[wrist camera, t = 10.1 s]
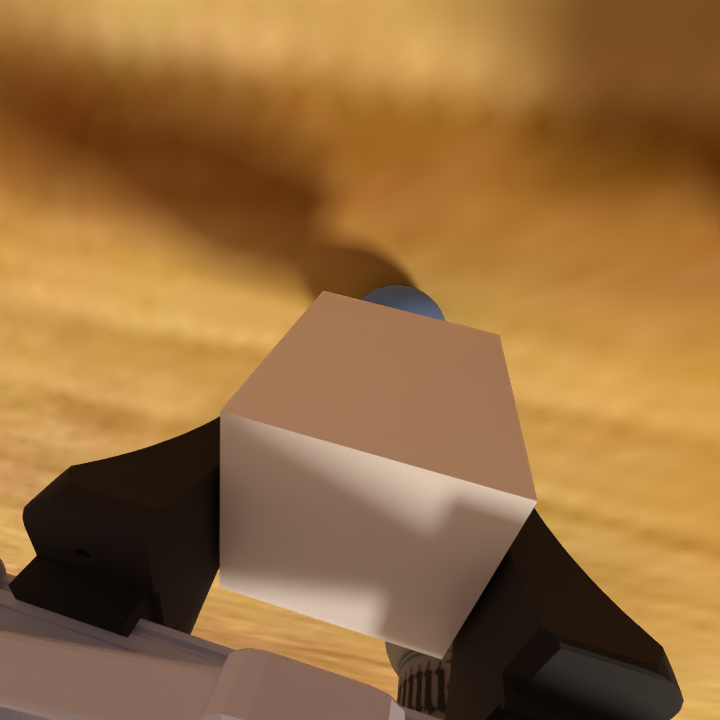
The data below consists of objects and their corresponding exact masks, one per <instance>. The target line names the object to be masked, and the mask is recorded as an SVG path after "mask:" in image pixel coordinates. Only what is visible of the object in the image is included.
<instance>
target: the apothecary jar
mask: <svg viewBox="0 0 720 720" xmlns="http://www.w3.org/2000/svg"><path fill="white" fill-rule="evenodd" d="M385 644H386V651H387V654H388V657H389V660H390V662H391V665H392V667H393V669H394V671H395V672H396V674H397V675H398V677H399V683H398V697H397V702H398V703H399V704H400V705H401V706H403V707H406V708H409V709H412V710H415V711H418V712H421V713H424V714H427V715H429V716H432V717H435V718H438V719H441V720H445V714H446V705H447V696H448V687H449V677H450V666H451V655H452V644H453V642H452V643H451V645H450V647H449V648H448V650H447V652H446V653H445V655H444V657H443V658H442V659H439V658H436V657H433V656H430V655H427V654H424V653H420V652H417V651H414V650H411V649H408V648H405V647H402V646H399V645H396V644H393V643H390V642H386V641H385Z"/></svg>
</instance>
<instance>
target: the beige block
mask: <svg viewBox="0 0 720 720" xmlns="http://www.w3.org/2000/svg"><path fill="white" fill-rule="evenodd" d="M537 502H538V501H537V496H536V492H535V488H534V483H533V479H532V475H531V470H530V466H529V462H528V457H527V453H526V449H525V444H524V440H523V436H522V431H521V427H520V423H519V418H518V414H517V409H516V405H515V401H514V396H513V392H512V388H511V383H510V379H509V375H508V370H507V366H506V362H505V357H504V353H503V349H502V344H501V340H500V336H499V335H498V334H494V333H490V332H486V331H482V330H478V329H474V328H470V327H466V326H463V325H459V324H455V323H451V322H447V321H443V320H439V319H435V318H431V317H427V316H423V315H419V314H415V313H411V312H407V311H403V310H399V309H395V308H391V307H387V306H383V305H379V304H375V303H371V302H367V301H363V300H359V299H355V298H351V297H347V296H343V295H339V294H335V293H331V292H327V291H322V293H321V294H320V295H319V296H318V297H317V298H316V300H315V301H314V302H313V303H312V304H311V305H310V307H309V308H308V309H307V310H306V311H305V312H304V314H303V315H302V316H301V317H300V318H299V319H298V321H297V322H296V323H295V324H294V325H293V326H292V328H291V329H290V330H289V331H288V332H287V333H286V335H285V336H284V337H283V338H282V339H281V340H280V342H279V343H278V344H277V345H276V346H275V347H274V349H273V350H272V351H271V352H270V353H269V355H268V356H267V357H266V358H265V359H264V360H263V362H262V363H261V364H260V365H259V366H258V367H257V369H256V370H255V371H254V372H253V373H252V374H251V376H250V377H249V378H248V379H247V380H246V381H245V383H244V384H243V385H242V386H241V387H240V388H239V390H238V391H237V392H236V393H235V394H234V395H233V397H232V398H231V399H230V400H229V401H228V402H227V404H226V405H225V406H224V407H223V408H222V409H221V411H220V588H223V589H226V590H229V591H232V592H235V593H238V594H241V595H244V596H248V597H251V598H254V599H257V600H260V601H263V602H266V603H269V604H272V605H275V606H278V607H282V608H285V609H288V610H291V611H294V612H297V613H300V614H303V615H306V616H309V617H312V618H315V619H319V620H322V621H325V622H328V623H331V624H334V625H337V626H340V627H343V628H346V629H349V630H353V631H356V632H359V633H362V634H365V635H368V636H371V637H374V638H377V639H380V640H383V641H386V642H390V643H393V644H396V645H399V646H402V647H405V648H408V649H411V650H414V651H417V652H420V653H424V654H427V655H430V656H433V657H436V658H439V659H442V658H443V657H444V655H445V653H446V652H447V650H448V648H449V647H450V645H451V643H452V642H453V640H454V638H455V637H456V635H457V633H458V632H459V630H460V629H461V627H462V625H463V624H464V622H465V620H466V619H467V617H468V615H469V614H470V612H471V610H472V609H473V607H474V605H475V604H476V602H477V600H478V599H479V597H480V596H481V594H482V592H483V591H484V589H485V587H486V586H487V584H488V582H489V581H490V579H491V577H492V576H493V574H494V572H495V571H496V569H497V567H498V566H499V564H500V563H501V561H502V559H503V558H504V556H505V554H506V553H507V551H508V549H509V548H510V546H511V544H512V543H513V541H514V539H515V538H516V536H517V535H518V533H519V531H520V530H521V528H522V526H523V525H524V523H525V521H526V520H527V518H528V516H529V515H530V513H531V511H532V510H533V508H534V506H535V505H536V503H537Z"/></svg>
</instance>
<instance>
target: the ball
mask: <svg viewBox="0 0 720 720" xmlns="http://www.w3.org/2000/svg"><path fill="white" fill-rule="evenodd" d="M361 300H363V301H367V302H371V303H375V304H379V305H383V306H387V307H391V308H395V309H399V310H403V311H407V312H411V313H415V314H419V315H423V316H427V317H431V318H435V319H439V320H443V321H445V319H444V316H443V314H442V312H441V310H440V308H439V307H438V305H437V304H436V303H435V302H434V301H433V300H432V299H431V298H430V297H429V296H428V295H426V294H425V293H423V292H422V291H420V290H418V289H415V288H413V287H409V286H404V285H389V286H384V287H381V288H378V289H375V290H373V291H372V292H370V293H368V294H367V295H366V296H364V297H363V298H362V299H361Z"/></svg>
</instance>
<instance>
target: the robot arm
mask: <svg viewBox="0 0 720 720" xmlns="http://www.w3.org/2000/svg"><path fill="white" fill-rule="evenodd" d="M23 522H24V526H25V528H26V531H27V533H28V535H29V538H30V540H31V542H32V545H33V547H34V549H35V552H36V554H37V556H36V557H35V558H34V559H33V560H32V561H31V562H30V563H29V564H28V565H27V566H26V567H25V568H24V569H23V570H22V571H21V572H20V573H19V574H18V575H17V576H14V575H11V574H8V573H6V569H5V566H4V563H3V561H2V560H1V559H0V720H441V719H438V718H435V717H432V716H429V715H427V714H424V713H421V712H418V711H415V710H412V709H409V708H406V707H403V706H401V705H400V704H399V703H398V702H397V701H396V700H395V699H393V698H392V697H391V696H390V695H389V694H388V693H386V692H383V691H381V690H379V689H377V688H375V687H373V686H371V685H368V684H365V683H362V682H359V681H356V680H353V679H350V678H347V677H344V676H341V675H338V674H335V673H332V672H329V671H326V670H323V669H320V668H317V667H314V666H311V665H308V664H305V663H303V662H300V661H297V660H294V659H291V658H288V657H285V656H282V655H279V654H276V653H273V652H269V651H264V650H259V649H254V648H246V649H240V650H233V649H230V648H227V647H225V646H222V645H219V644H216V643H213V642H210V641H207V640H204V639H201V638H198V637H195V636H192V635H190V634H191V632H192V629H193V627H194V625H195V622H196V620H197V617H198V615H199V613H200V610H201V608H202V605H203V603H204V601H205V599H206V596H207V594H208V592H209V589H210V587H211V585H212V583H213V580H214V578H215V576H216V573H217V571H218V569H219V567H220V417H218V418H216V419H214V420H213V421H211V422H209V423H207V424H205V425H203V426H201V427H199V428H196V429H194V430H192V431H190V432H187V433H185V434H183V435H180V436H177V437H175V438H172V439H169V440H167V441H164V442H161V443H158V444H156V445H153V446H150V447H147V448H143V449H140V450H137V451H134V452H130V453H126V454H123V455H119V456H115V457H111V458H107V459H102V460H98V461H93V462H88V463H84V464H79V465H74V466H71V467H69V468H68V469H67V470H66V471H64V472H63V473H62V474H61V475H60V476H58V477H57V478H56V479H55V480H54V481H53V482H52V483H50V484H49V485H48V486H47V487H46V488H45V489H44V490H43V491H41V492H40V493H39V494H38V495H37V496H36V497H35V498H34V499H32V500H31V501H30V502H29V503H28V504H27V505H26V506H25V507H24V510H23ZM683 701H684V700H683V697H682V694H681V691H680V688H679V685H678V683H677V680H676V678H675V675H674V672H673V670H672V667H671V665H670V663H669V660H668V658H667V656H666V653H665V651H664V649H663V647H662V646H661V645H660V644H659V643H658V642H657V641H655V640H654V639H653V638H652V637H651V636H650V635H649V634H648V633H646V632H645V631H644V630H643V629H642V628H641V627H640V626H639V625H637V624H636V623H635V622H634V621H633V620H632V619H631V618H630V617H629V616H627V615H626V614H625V613H624V612H623V611H622V610H621V609H620V608H619V607H618V606H617V605H616V604H615V603H614V602H613V601H612V600H611V599H610V598H609V597H608V596H607V595H606V594H605V593H604V592H603V591H602V590H601V589H600V588H599V587H598V586H597V585H596V584H595V583H594V582H593V581H592V580H591V579H590V578H589V576H588V575H587V574H586V573H585V572H584V571H583V570H582V569H581V568H580V566H579V565H578V564H577V563H576V562H575V561H574V560H573V558H572V557H571V556H570V555H569V554H568V553H567V551H566V550H565V549H564V548H563V547H562V545H561V544H560V543H559V541H558V540H557V539H556V538H555V536H554V535H553V534H552V532H551V531H550V530H549V528H548V527H547V526H546V524H545V523H544V522H543V520H542V519H541V517H540V516H539V514H538V513H537V511H536V510H535V508H533V510H532V511H531V513H530V515H529V516H528V518H527V520H526V521H525V523H524V525H523V526H522V528H521V530H520V531H519V533H518V535H517V536H516V538H515V539H514V541H513V543H512V544H511V546H510V548H509V549H508V551H507V553H506V554H505V556H504V558H503V559H502V561H501V563H500V564H499V566H498V567H497V569H496V571H495V572H494V574H493V576H492V577H491V579H490V581H489V582H488V584H487V586H486V587H485V589H484V591H483V592H482V594H481V596H480V597H479V599H478V600H477V602H476V604H475V605H474V607H473V609H472V610H471V612H470V614H469V615H468V617H467V619H466V620H465V622H464V624H463V625H462V627H461V629H460V630H459V632H458V633H457V635H456V637H455V638H454V640H453V644H452V655H451V666H450V677H449V687H448V696H447V705H446V714H445V720H670V719H672V718H673V717H674V716H675V715H676V714H677V713H678V712H679V711H680V710H681V707H682V704H683Z"/></svg>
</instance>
